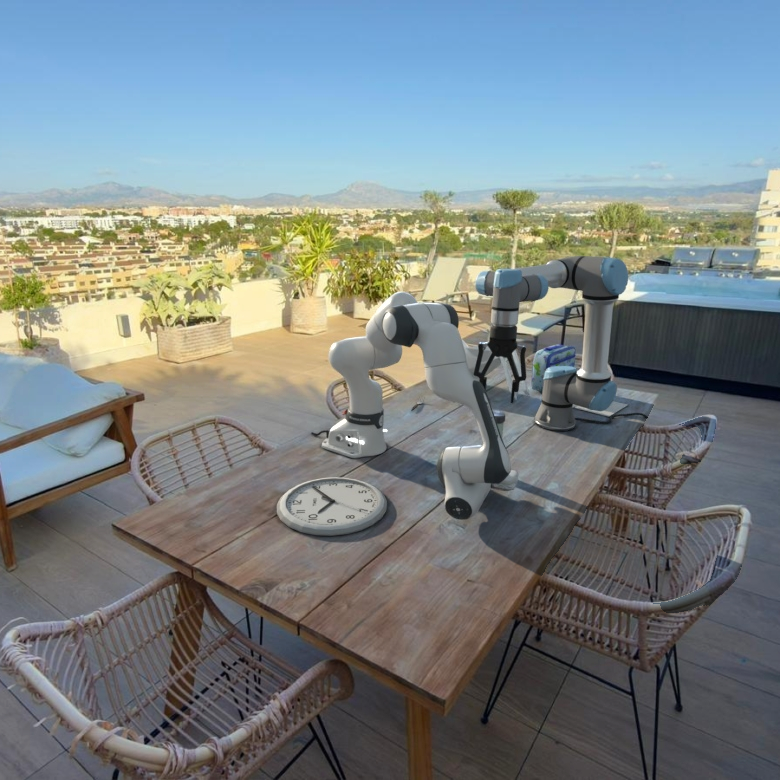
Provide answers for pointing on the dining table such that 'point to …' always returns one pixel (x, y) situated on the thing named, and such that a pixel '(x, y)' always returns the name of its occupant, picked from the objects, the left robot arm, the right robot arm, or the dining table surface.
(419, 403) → the fork
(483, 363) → the white plastic object
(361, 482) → the wall clock
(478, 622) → the dining table surface
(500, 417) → the lid
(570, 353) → the lunch box
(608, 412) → the invitation card
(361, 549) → the dining table surface
